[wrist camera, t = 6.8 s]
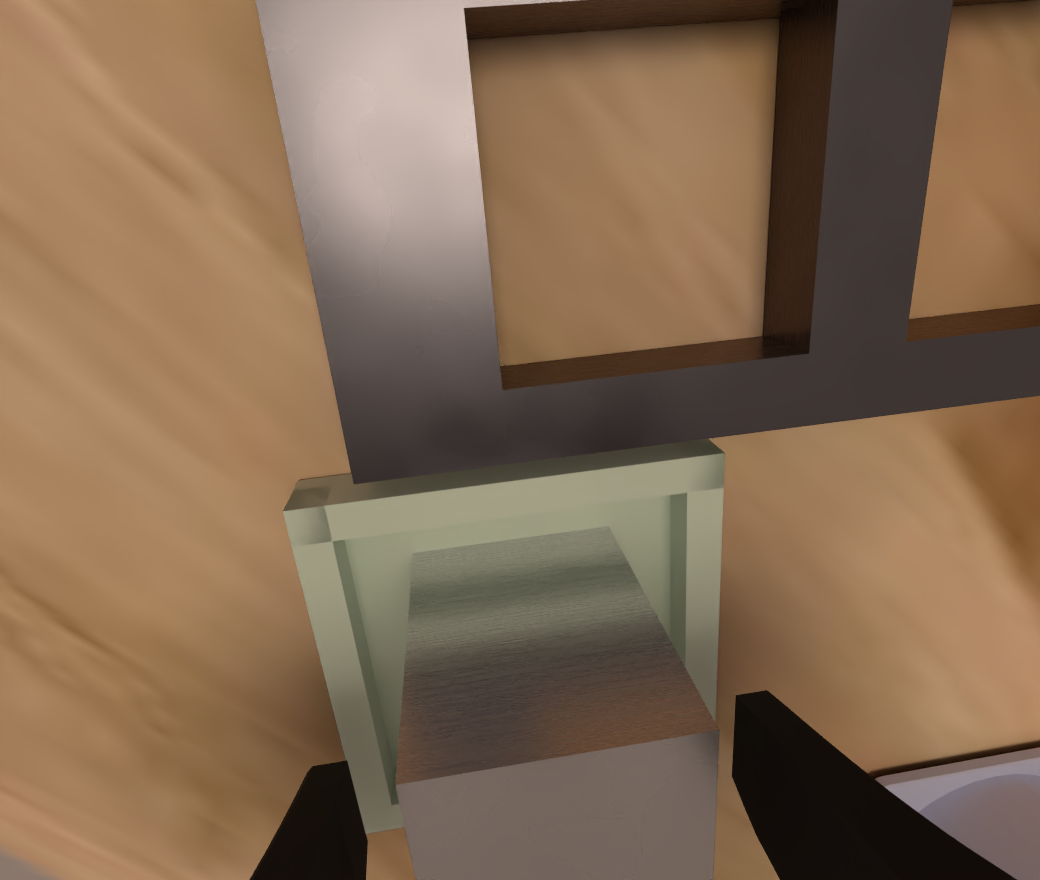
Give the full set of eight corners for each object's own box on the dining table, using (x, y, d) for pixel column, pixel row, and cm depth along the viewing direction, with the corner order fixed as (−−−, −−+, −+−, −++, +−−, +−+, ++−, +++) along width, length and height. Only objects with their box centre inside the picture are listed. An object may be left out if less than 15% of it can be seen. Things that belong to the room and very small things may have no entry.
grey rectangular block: (614, 680, 16) (710, 936, 10) (439, 708, 15) (439, 991, 10) (608, 526, 14) (719, 729, 9) (412, 553, 14) (395, 784, 8)
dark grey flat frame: (1328, -112, 12) (1475, -166, 10) (1187, 347, 15) (1282, 364, 13) (267, -54, 10) (233, -108, 8) (364, 450, 13) (353, 484, 12)
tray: (691, 727, 17) (713, 772, 16) (371, 782, 17) (364, 834, 15) (696, 429, 14) (724, 452, 13) (299, 479, 13) (282, 511, 12)
